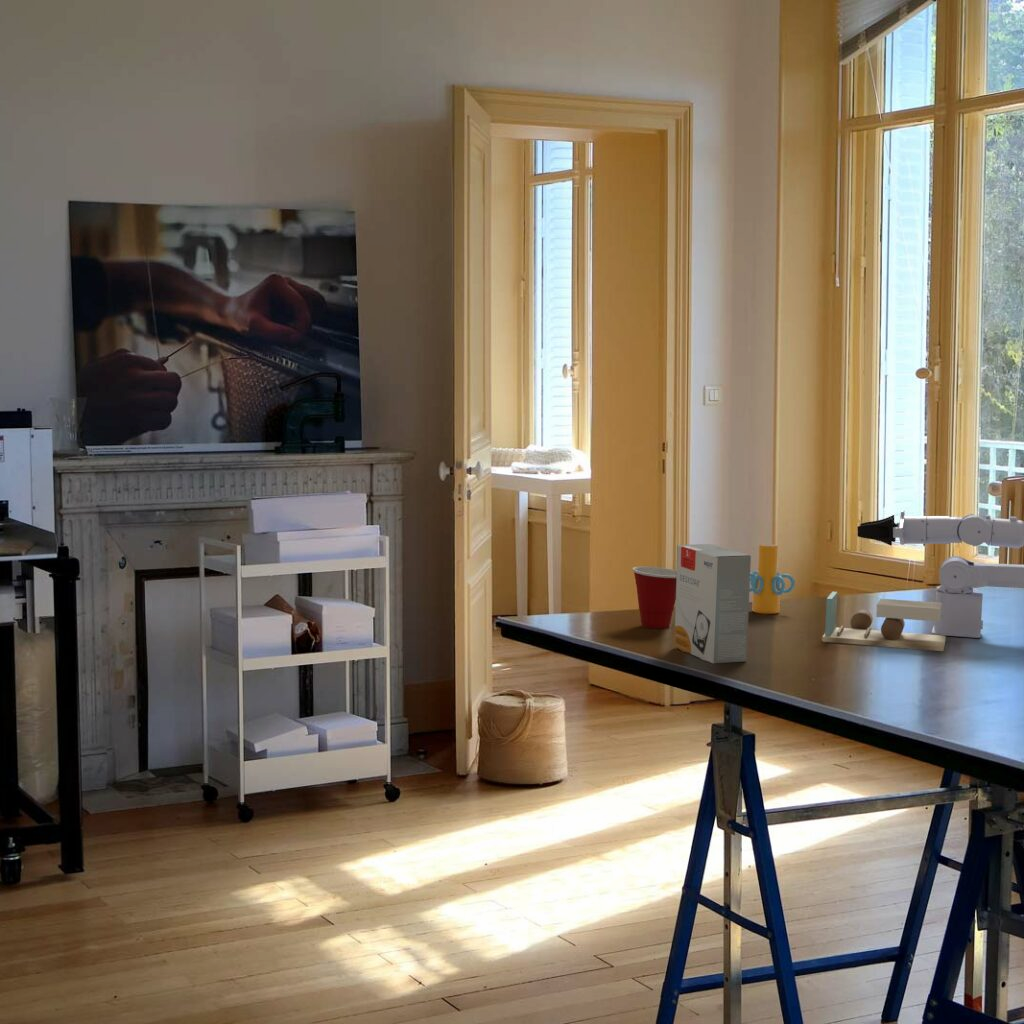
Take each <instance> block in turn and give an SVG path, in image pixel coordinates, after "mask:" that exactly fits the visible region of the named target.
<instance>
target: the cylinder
mask: <svg viewBox="0 0 1024 1024" xmlns="http://www.w3.org/2000/svg"><path fill="white" fill-rule="evenodd" d="M757 566H758V568H757V570H754V571H752V572H750V589H749V593H750V592H752V603H751V604H752V605H751V606H752V607H751V610H752V612H754V613H756V614H762V615H763V614H764V615H774V614H778V613H780V607H781V605H780V604H781V595H783V594H788V593H790V592H792V591H793V590H794V588H795V586H796V583H795V579H794V577H793V576H792V575H791V574H788V573H783V574H780V573H779V572H778V571H777V569H778V544H775V543H774V544H773V543H772V544H771V543H760V544H759V545H758V565H757ZM784 578H787V579H789V580H790V583H791V584H790V586H789V588H787V589H786V582H785V579H784Z"/></svg>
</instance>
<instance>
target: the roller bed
mask: <svg viewBox="0 0 1024 1024" xmlns="http://www.w3.org/2000/svg"><path fill="white" fill-rule="evenodd" d="M825 607H826V608H825V628H824V629H825V631H824V634H823V635H822V638H821V641H822V643H823V642H824V643H835V644H848V645H858V646H859V645H860V646H861V645H862V646H872V647H873V646H875V647H885V648H886V647H887V648H899V649H910V650H911V649H912V650H913V649H914V650H920V651H921V650H924V651H935V652H936V651H937V652H944V650H945V645H946V639H947V636H946V635H933V634H926V633H915V632H912V633H911V632H904V628H905V625H906V624H905V619H898V618H884V619H883V623H882V624H881V627H880V630H875V629H872V628H871V627H869V628H868V629H867V630H864V629H852V627H850V628H849V627H845V625H840V627H838V626H837V609H838V608H837V607H838V591H831V593H830V594H829V595H828V596H827V598H826V605H825Z"/></svg>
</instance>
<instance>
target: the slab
mask: <svg viewBox="0 0 1024 1024" xmlns="http://www.w3.org/2000/svg"><path fill="white" fill-rule="evenodd" d="M875 613H876V614H875V615H876V616H875V617H876V618H884V619H885V618H898V619H903V620H910V621H911V620H914V621H927V622H935V621H938V622H940V619H941V615H942V603H936V601H919V600H918V601H917V600H905V599H891V598H890V599H889V598H879V600H878V602H877V603H876V612H875Z"/></svg>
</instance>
